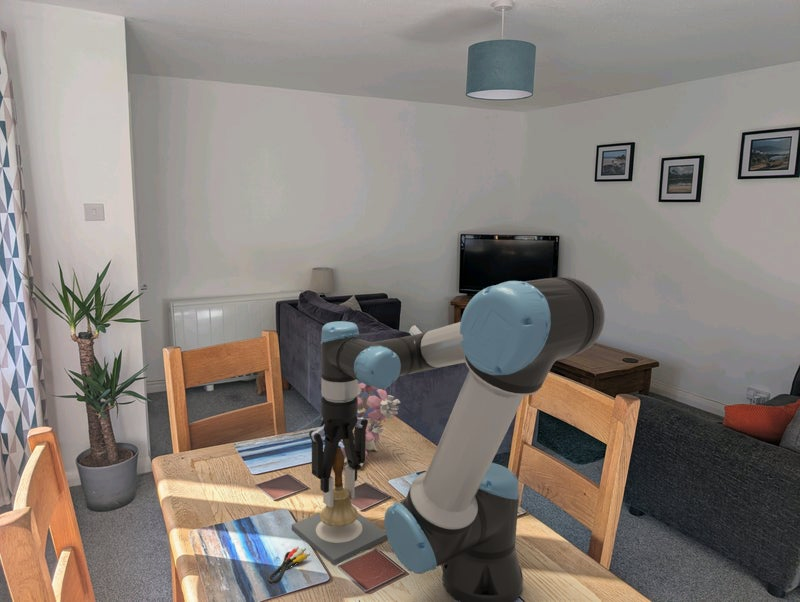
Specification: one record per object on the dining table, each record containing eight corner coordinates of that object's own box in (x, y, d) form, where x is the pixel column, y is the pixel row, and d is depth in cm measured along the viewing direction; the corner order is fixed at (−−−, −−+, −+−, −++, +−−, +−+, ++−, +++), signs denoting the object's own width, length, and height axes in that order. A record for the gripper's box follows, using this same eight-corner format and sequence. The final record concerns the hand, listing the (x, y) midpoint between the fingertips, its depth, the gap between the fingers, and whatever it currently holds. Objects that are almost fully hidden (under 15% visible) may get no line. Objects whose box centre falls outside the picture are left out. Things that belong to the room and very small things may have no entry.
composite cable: (274, 587, 106) (274, 575, 106) (257, 577, 109) (257, 565, 108) (311, 560, 114) (311, 549, 114) (295, 551, 117) (294, 540, 116)
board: (387, 538, 121) (387, 533, 121) (333, 565, 112) (333, 559, 112) (343, 507, 133) (343, 502, 133) (291, 529, 124) (291, 523, 124)
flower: (293, 447, 161) (311, 382, 148) (350, 417, 177) (371, 357, 164) (339, 497, 151) (363, 432, 139) (394, 461, 168) (420, 400, 155)
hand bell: (337, 531, 116) (337, 459, 113) (311, 515, 122) (311, 446, 119) (366, 515, 122) (367, 446, 119) (340, 501, 128) (340, 434, 125)
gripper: (362, 383, 126) (361, 480, 130) (292, 400, 114) (293, 506, 118) (384, 392, 120) (382, 493, 124) (312, 411, 108) (313, 522, 113)
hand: (339, 499), depth 121 cm, fingers closed on hand bell, 5 cm apart
